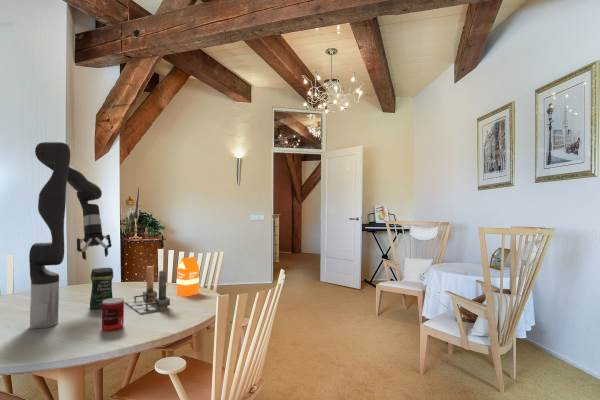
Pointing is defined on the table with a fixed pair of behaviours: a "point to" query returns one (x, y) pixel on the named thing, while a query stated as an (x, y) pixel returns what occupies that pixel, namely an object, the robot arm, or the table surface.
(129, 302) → the grey metal fixture
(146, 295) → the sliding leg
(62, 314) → the table surface
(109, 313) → the canned food
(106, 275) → the coffee jar
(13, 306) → the table surface
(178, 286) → the orange juice
